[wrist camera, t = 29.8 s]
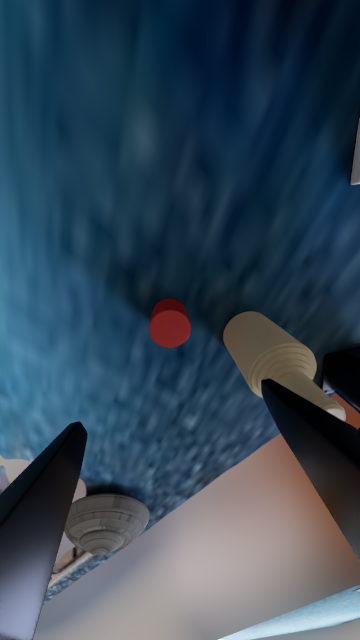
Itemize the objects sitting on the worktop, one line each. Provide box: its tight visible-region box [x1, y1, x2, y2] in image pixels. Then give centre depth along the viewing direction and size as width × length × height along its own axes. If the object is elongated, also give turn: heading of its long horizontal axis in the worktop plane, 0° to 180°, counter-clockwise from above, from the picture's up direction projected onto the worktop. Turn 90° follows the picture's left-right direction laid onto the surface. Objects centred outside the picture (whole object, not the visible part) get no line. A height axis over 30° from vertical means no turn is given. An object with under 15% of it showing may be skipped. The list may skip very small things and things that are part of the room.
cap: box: [149, 299, 191, 347], centre depth 18 cm, size 4×4×4 cm
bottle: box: [223, 311, 346, 421], centre depth 16 cm, size 6×6×11 cm
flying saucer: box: [64, 493, 150, 555], centre depth 31 cm, size 15×15×6 cm
